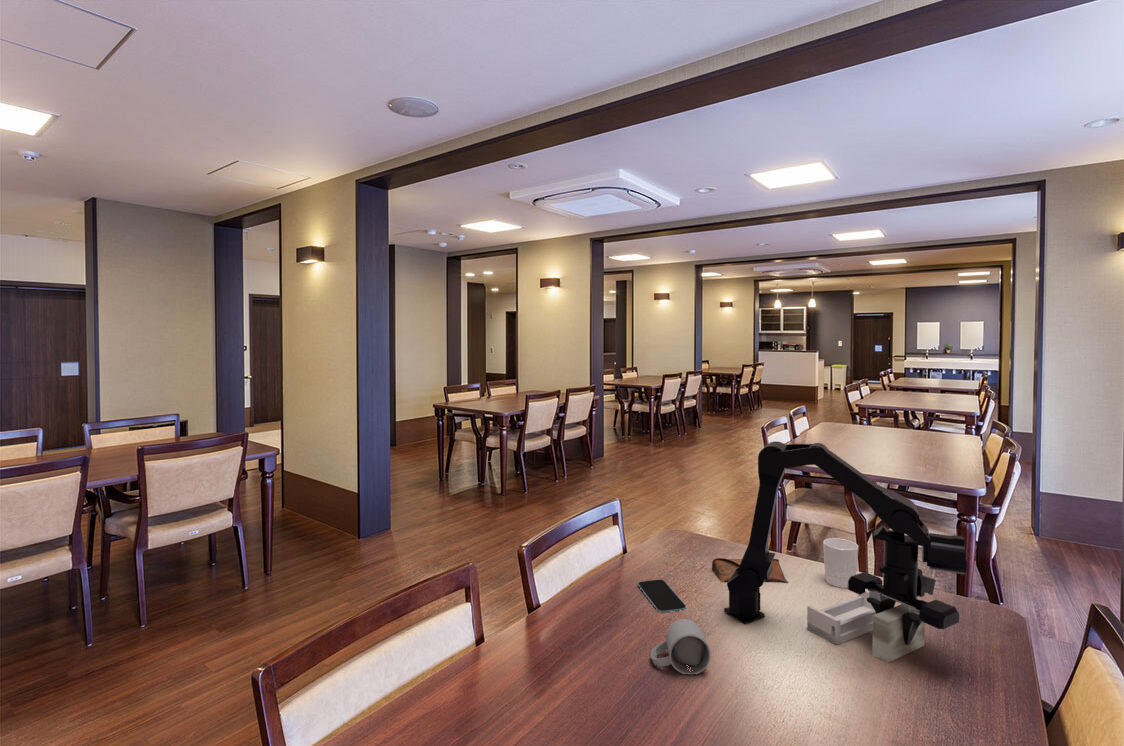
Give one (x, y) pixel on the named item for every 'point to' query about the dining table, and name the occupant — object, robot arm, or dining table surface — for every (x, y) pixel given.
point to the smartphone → (661, 595)
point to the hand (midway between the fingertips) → (898, 640)
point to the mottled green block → (893, 634)
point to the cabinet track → (842, 619)
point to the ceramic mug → (683, 648)
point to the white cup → (839, 561)
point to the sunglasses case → (728, 566)
